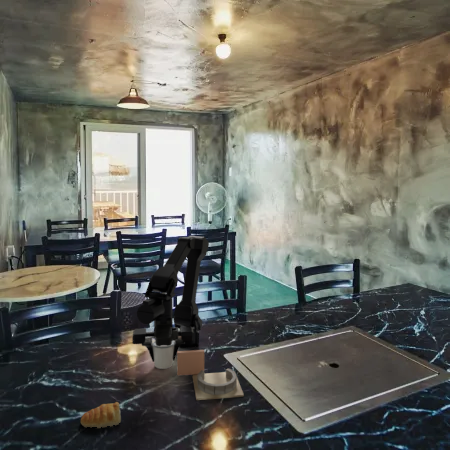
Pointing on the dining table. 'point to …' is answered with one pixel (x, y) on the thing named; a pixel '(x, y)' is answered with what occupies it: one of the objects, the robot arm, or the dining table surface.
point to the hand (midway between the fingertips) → (163, 360)
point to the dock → (216, 385)
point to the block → (190, 362)
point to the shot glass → (163, 355)
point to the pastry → (102, 416)
